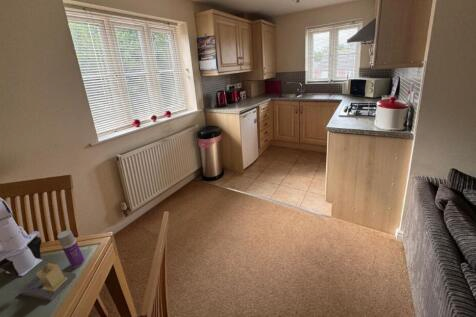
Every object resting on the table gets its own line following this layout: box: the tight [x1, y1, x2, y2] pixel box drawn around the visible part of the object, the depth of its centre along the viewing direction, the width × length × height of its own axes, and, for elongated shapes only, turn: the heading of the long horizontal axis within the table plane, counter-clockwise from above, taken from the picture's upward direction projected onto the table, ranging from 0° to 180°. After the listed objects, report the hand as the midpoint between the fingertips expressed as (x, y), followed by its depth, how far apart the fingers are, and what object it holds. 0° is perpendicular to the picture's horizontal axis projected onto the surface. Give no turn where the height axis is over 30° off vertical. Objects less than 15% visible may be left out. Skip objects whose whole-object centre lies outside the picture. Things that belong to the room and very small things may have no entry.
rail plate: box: [18, 270, 77, 302], centre depth 86 cm, size 14×10×2 cm
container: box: [56, 229, 86, 269], centre depth 92 cm, size 5×5×15 cm
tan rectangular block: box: [35, 262, 65, 290], centre depth 84 cm, size 4×4×7 cm
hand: (27, 265), depth 83 cm, fingers open, 7 cm apart
